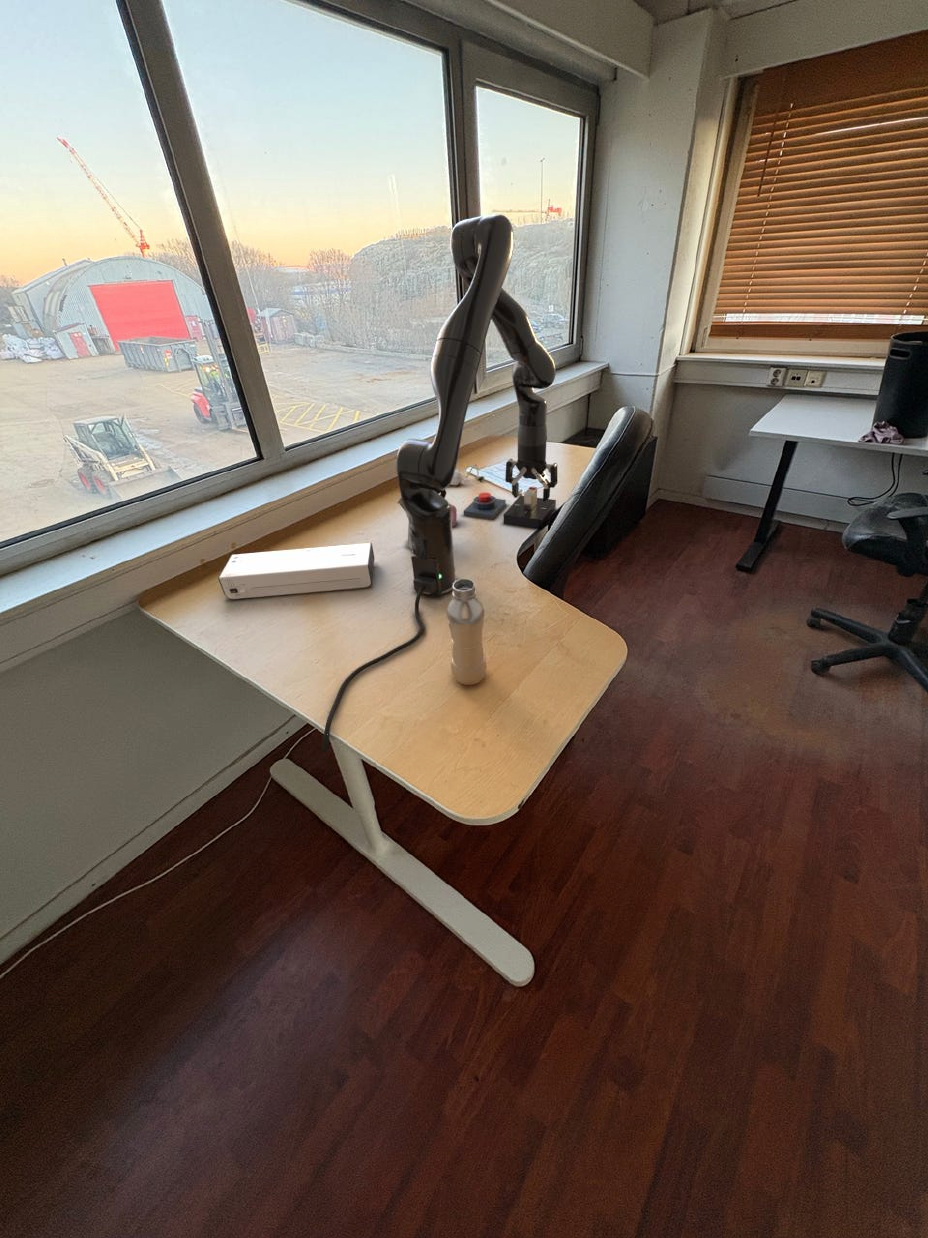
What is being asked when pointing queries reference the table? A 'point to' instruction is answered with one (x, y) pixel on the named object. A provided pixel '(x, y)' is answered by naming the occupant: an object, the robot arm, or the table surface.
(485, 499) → the button
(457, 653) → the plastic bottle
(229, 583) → the laminator
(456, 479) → the clip-on lamp
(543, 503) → the hob panel
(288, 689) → the table surface
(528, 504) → the beige rectangular block
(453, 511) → the video game controller
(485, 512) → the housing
